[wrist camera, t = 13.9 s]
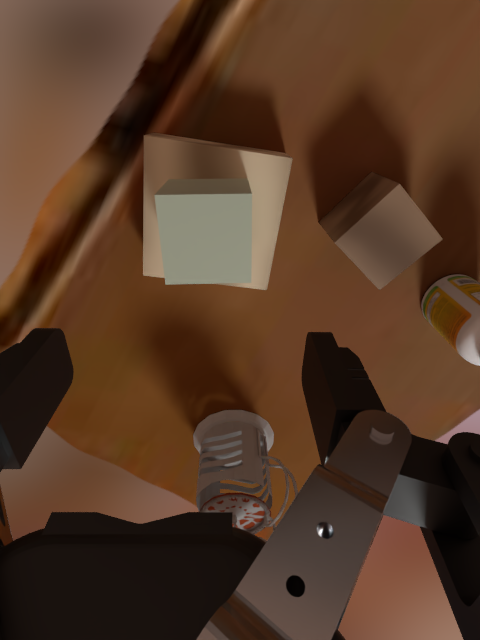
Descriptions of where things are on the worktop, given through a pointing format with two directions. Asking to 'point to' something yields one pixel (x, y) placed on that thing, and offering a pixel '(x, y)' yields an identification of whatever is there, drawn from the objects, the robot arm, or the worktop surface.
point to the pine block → (216, 163)
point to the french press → (237, 468)
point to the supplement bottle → (456, 313)
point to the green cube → (205, 230)
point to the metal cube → (380, 229)
